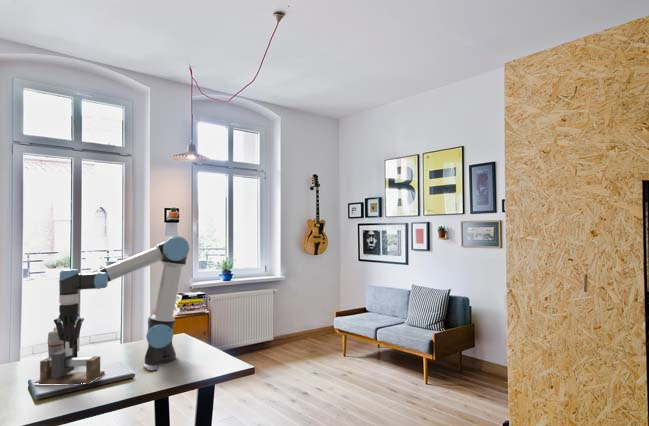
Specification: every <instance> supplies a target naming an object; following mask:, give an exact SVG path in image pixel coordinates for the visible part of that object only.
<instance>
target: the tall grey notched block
mask: <svg viewBox="0 0 649 426" xmlns="http://www.w3.org/2000/svg"><path fill="white" fill-rule="evenodd" d="M65 358H74V348H72V355H70V356H65V349H63V350H60V351H58V352H56V353H54V354H51V377H61V376H63V375H65V374H67V373H69V372H73V371H74V370H75V366H67V367H64V359H65Z"/></svg>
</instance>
